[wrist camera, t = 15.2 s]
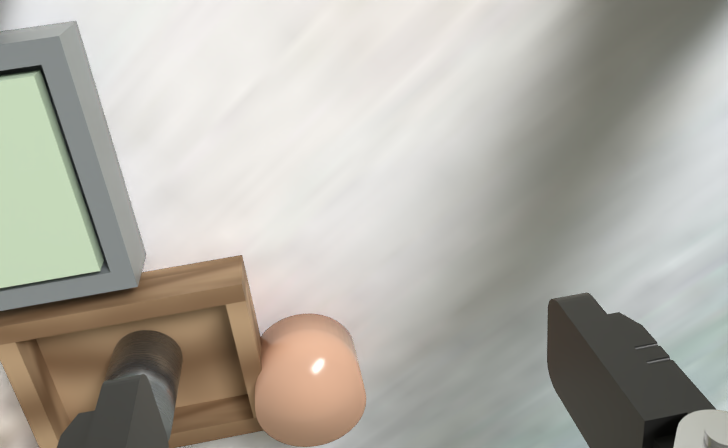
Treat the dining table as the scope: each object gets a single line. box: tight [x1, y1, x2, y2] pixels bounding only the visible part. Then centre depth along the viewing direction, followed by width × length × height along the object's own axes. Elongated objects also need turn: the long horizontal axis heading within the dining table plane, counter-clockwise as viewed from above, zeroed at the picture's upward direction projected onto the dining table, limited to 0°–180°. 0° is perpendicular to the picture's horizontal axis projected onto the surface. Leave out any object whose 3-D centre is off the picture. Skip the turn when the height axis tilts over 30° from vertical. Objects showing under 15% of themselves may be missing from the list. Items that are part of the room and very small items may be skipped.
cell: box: [96, 330, 183, 441], centre depth 42 cm, size 4×4×7 cm
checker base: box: [0, 21, 146, 311], centre depth 37 cm, size 11×14×4 cm
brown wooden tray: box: [0, 255, 263, 448], centre depth 44 cm, size 11×15×4 cm
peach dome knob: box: [255, 314, 366, 447], centre depth 46 cm, size 7×7×5 cm
